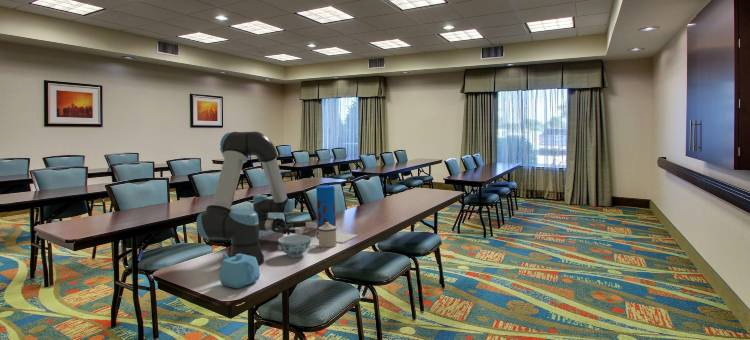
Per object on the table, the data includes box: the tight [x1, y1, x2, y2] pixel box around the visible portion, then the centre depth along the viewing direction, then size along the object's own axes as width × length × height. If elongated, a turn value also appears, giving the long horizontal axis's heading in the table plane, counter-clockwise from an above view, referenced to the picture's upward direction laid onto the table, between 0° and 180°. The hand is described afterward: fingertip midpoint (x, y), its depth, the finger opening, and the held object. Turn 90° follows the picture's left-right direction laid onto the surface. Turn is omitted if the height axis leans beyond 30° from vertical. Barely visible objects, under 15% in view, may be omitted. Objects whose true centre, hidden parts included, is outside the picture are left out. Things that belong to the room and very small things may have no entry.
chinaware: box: [277, 234, 312, 258], centre depth 191 cm, size 15×15×8 cm
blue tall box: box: [315, 184, 337, 229], centre depth 244 cm, size 11×11×25 cm
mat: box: [336, 232, 359, 244], centre depth 221 cm, size 16×14×1 cm
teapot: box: [219, 252, 261, 289], centre depth 157 cm, size 12×18×12 cm
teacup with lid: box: [314, 222, 337, 249], centre depth 208 cm, size 12×9×12 cm
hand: (309, 228), depth 212 cm, fingers open, 13 cm apart
